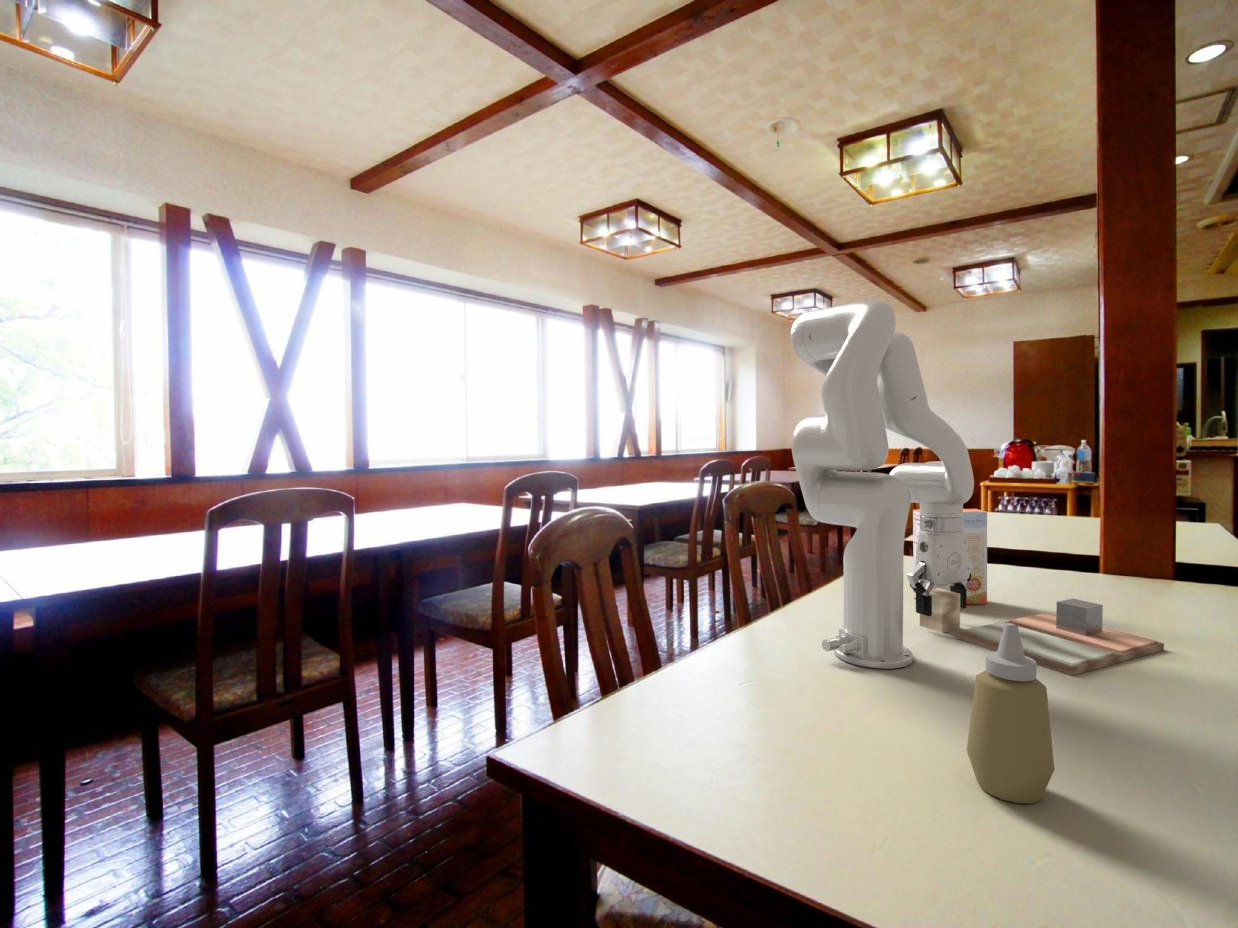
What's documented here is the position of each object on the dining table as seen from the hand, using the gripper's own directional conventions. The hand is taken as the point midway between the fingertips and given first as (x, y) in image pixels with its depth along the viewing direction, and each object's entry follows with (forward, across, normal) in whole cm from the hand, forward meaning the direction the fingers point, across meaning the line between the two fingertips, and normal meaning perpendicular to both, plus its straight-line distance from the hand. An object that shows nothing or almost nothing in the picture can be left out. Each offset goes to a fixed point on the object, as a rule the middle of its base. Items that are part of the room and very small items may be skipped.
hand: (941, 610), depth 123 cm
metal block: (+2, +16, -16) cm, 23 cm away
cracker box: (+4, +17, +12) cm, 21 cm away
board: (+3, +9, -16) cm, 19 cm away
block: (+3, -1, 0) cm, 3 cm away
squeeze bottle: (+2, -43, -42) cm, 60 cm away
